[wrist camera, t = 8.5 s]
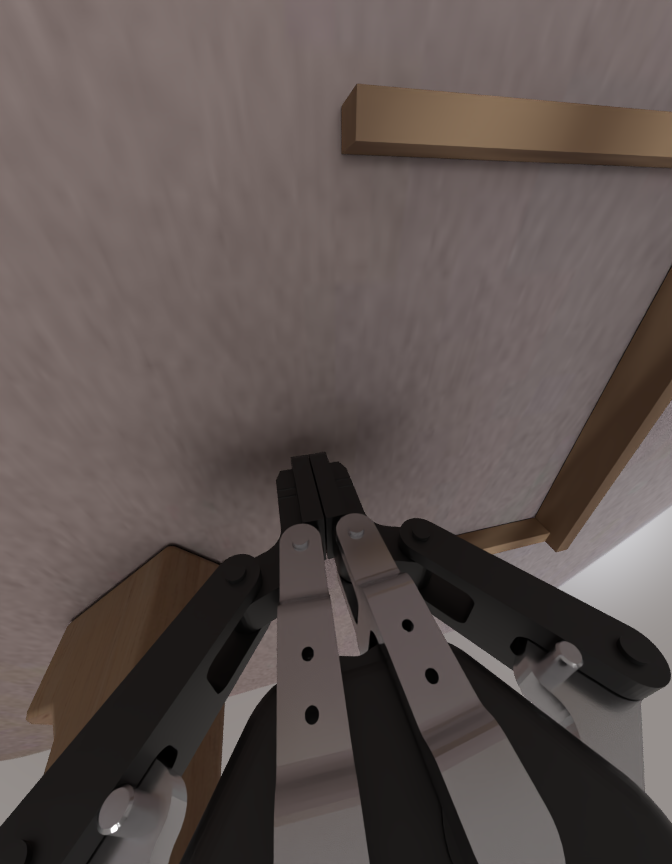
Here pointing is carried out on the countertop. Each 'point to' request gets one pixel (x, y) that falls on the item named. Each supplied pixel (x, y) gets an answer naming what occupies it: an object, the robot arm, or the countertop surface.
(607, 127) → the frame
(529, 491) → the countertop surface
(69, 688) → the wooden block
